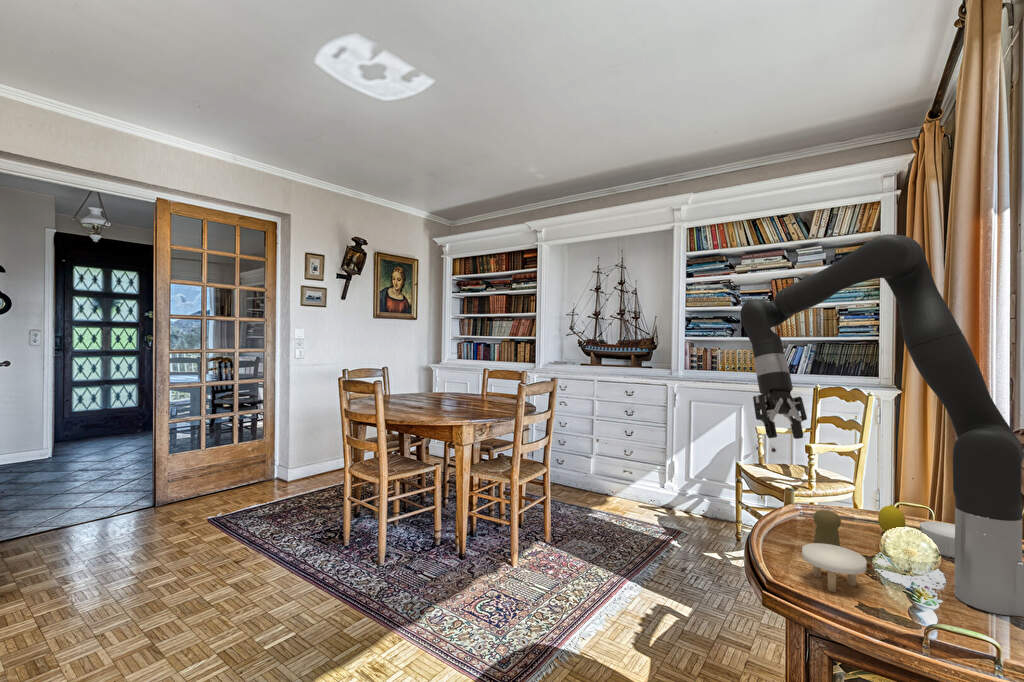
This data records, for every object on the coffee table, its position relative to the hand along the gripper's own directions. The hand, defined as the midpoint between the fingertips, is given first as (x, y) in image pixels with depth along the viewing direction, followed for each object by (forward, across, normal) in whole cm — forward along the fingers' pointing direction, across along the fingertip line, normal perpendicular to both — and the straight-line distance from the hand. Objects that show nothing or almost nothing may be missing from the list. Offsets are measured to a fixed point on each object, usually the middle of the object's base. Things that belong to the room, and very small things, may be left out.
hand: (785, 438), depth 121 cm
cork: (+28, +3, -2) cm, 28 cm away
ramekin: (+28, +36, -8) cm, 46 cm away
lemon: (+24, +32, +2) cm, 40 cm away
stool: (+31, -6, -9) cm, 33 cm away
